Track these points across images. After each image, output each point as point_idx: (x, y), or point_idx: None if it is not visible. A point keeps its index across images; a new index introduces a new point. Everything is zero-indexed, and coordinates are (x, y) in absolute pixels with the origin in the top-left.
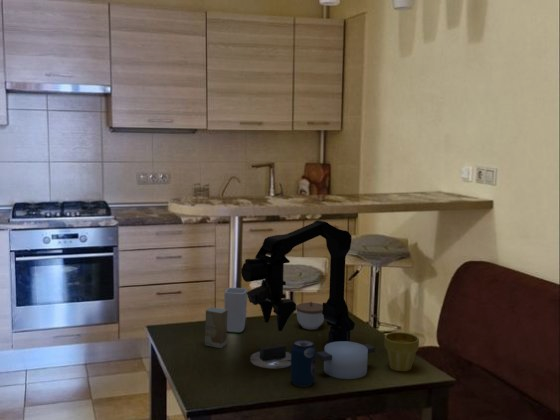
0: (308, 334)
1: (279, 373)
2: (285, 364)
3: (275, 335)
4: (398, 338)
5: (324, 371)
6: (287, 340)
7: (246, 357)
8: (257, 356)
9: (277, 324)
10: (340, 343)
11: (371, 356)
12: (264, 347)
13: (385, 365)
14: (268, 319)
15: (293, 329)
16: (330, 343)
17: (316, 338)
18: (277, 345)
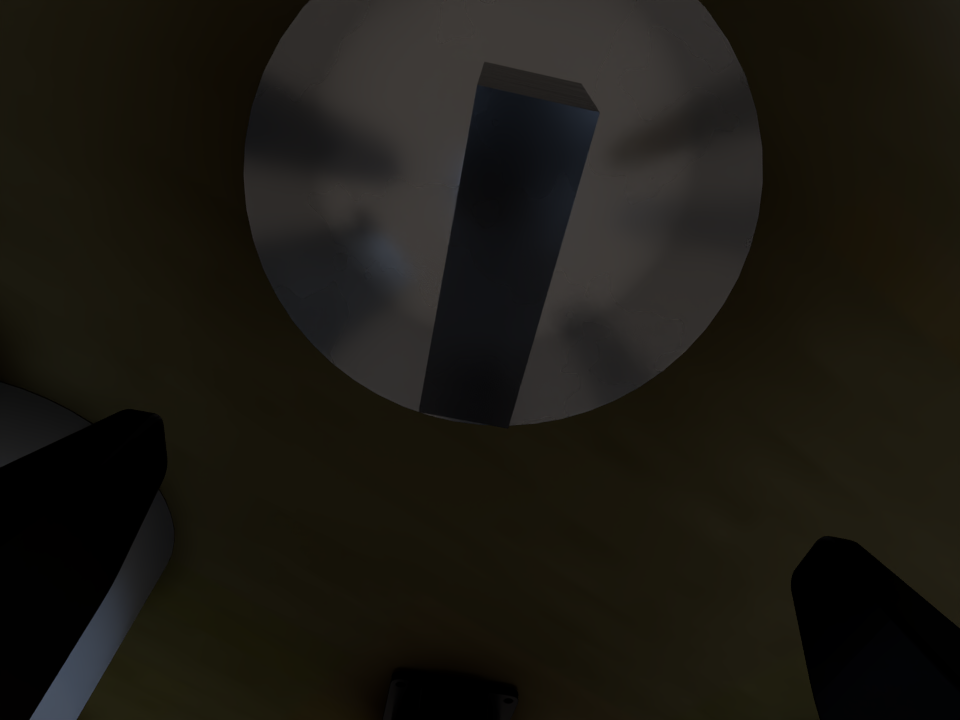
0: (726, 708)
1: (110, 11)
2: (252, 209)
3: (923, 587)
4: None
5: (32, 394)
6: (765, 582)
7: (787, 5)
8: (651, 104)
9: (29, 511)
10: None
11: (199, 704)
12: (545, 167)
13: None
14: (814, 637)
15: None
16: None
17: (633, 698)
18: (496, 354)
